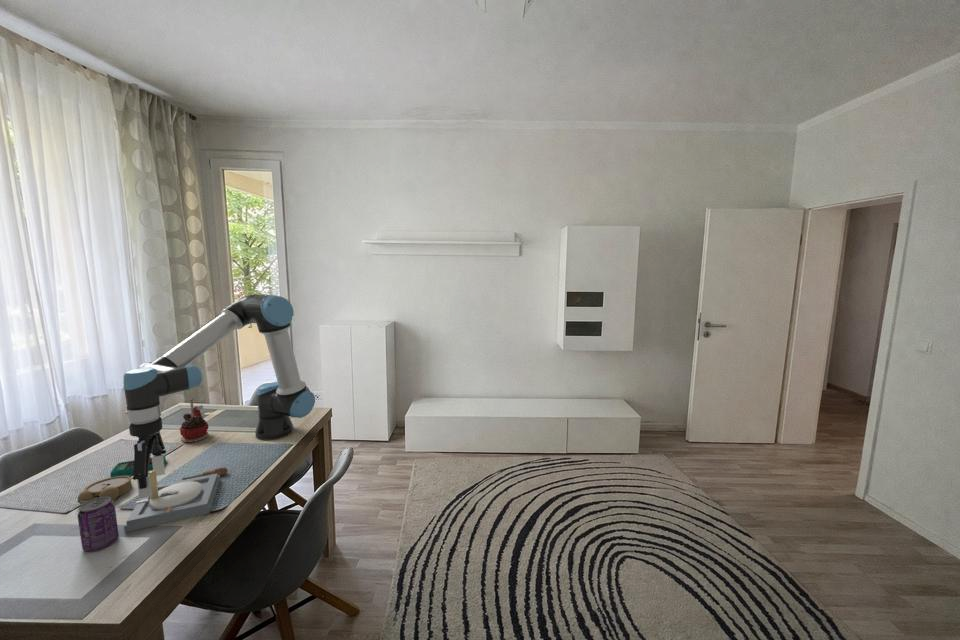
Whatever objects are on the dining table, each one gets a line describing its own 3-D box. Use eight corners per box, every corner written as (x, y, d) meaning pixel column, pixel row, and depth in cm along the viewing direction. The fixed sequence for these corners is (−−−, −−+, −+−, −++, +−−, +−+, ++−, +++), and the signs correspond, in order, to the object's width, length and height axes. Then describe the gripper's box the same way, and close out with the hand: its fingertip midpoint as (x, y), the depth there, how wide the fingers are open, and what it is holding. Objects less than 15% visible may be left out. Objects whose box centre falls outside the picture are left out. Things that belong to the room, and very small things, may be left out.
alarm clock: (138, 473, 134) (111, 490, 120) (139, 487, 134) (112, 505, 119) (99, 478, 131) (66, 496, 116) (99, 492, 130) (66, 512, 116)
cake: (175, 441, 164) (171, 401, 162) (198, 432, 173) (194, 394, 170) (192, 445, 160) (188, 404, 158) (214, 436, 169) (210, 397, 166)
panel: (220, 480, 135) (219, 471, 135) (209, 513, 117) (208, 503, 117) (147, 494, 126) (146, 485, 126) (124, 532, 108) (123, 521, 108)
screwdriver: (228, 472, 140) (227, 465, 140) (227, 475, 138) (226, 468, 138) (183, 480, 135) (182, 473, 134) (181, 484, 132) (181, 477, 132)
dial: (205, 481, 130) (202, 454, 129) (197, 503, 119) (194, 473, 117) (157, 491, 124) (154, 462, 123) (143, 514, 113) (139, 483, 111)
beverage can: (99, 535, 107) (93, 495, 106) (126, 534, 108) (120, 495, 106) (74, 554, 100) (68, 512, 99) (103, 552, 101) (97, 511, 99)
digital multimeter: (162, 469, 142) (162, 462, 142) (109, 479, 135) (108, 471, 135) (167, 460, 149) (167, 453, 148) (117, 469, 142) (116, 462, 141)
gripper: (143, 407, 124) (150, 468, 127) (111, 438, 103) (121, 511, 106) (172, 404, 128) (178, 464, 131) (147, 433, 106) (155, 504, 109)
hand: (152, 485), depth 118 cm, fingers open, 12 cm apart
